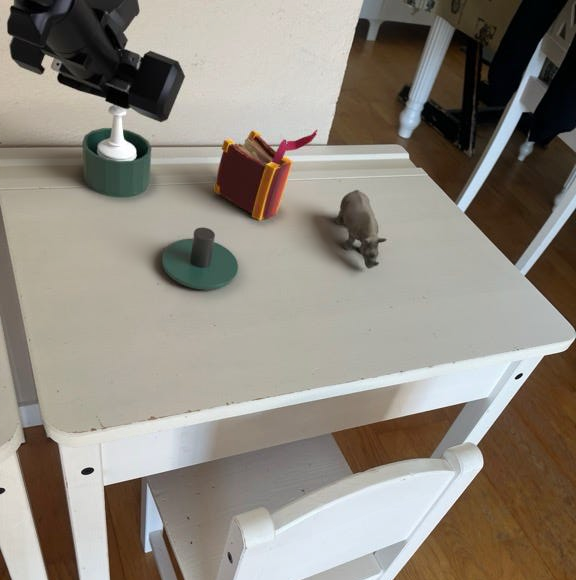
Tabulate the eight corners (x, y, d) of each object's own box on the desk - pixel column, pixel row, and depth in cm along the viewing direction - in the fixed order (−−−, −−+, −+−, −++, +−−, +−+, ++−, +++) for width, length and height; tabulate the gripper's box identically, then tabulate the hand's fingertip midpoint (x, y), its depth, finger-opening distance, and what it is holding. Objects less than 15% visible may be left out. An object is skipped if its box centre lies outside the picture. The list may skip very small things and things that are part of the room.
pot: (71, 171, 82) (69, 136, 78) (123, 157, 87) (124, 122, 83) (110, 204, 79) (110, 168, 75) (162, 187, 84) (164, 153, 80)
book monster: (206, 189, 86) (270, 177, 93) (247, 227, 82) (310, 210, 89) (221, 115, 78) (290, 108, 85) (266, 153, 75) (333, 142, 82)
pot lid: (145, 260, 73) (147, 224, 70) (202, 237, 79) (207, 202, 75) (196, 303, 70) (201, 268, 66) (252, 276, 76) (259, 242, 72)
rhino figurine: (354, 281, 79) (368, 243, 75) (329, 218, 88) (341, 180, 84) (383, 282, 80) (399, 245, 76) (356, 220, 89) (369, 182, 85)
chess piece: (139, 164, 79) (142, 85, 72) (98, 162, 78) (98, 81, 70) (133, 144, 82) (136, 67, 75) (95, 142, 81) (94, 63, 73)
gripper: (186, -21, 60) (217, 64, 75) (15, -84, 61) (80, 12, 77) (141, 87, 60) (182, 150, 76) (-28, 21, 61) (46, 96, 77)
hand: (123, 99), depth 76 cm, fingers closed on chess piece
